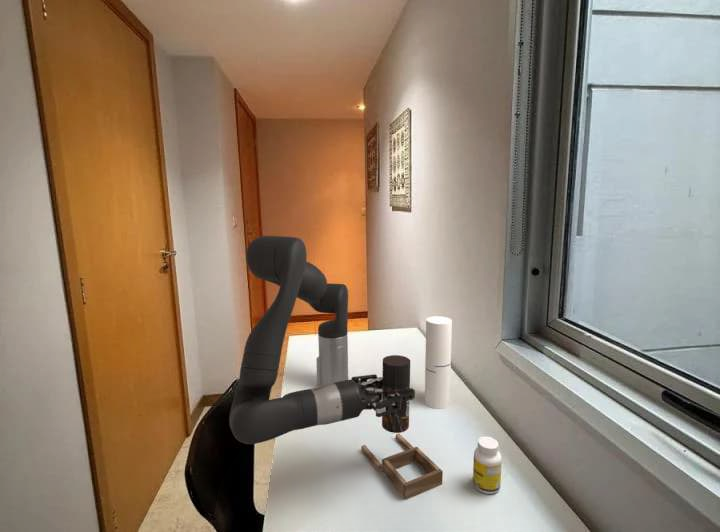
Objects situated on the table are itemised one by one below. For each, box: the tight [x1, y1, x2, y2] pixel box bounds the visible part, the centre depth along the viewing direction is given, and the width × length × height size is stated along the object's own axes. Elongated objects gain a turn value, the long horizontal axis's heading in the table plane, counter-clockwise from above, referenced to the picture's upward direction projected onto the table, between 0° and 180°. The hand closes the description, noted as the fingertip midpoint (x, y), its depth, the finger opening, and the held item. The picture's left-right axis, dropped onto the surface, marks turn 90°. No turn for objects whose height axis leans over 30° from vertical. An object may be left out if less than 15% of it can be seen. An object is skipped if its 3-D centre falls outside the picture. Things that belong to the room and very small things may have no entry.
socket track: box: [360, 433, 444, 500], centre depth 85 cm, size 18×11×3 cm, turn 27°
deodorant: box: [381, 354, 411, 434], centre depth 83 cm, size 6×6×15 cm
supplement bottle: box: [472, 436, 503, 495], centre depth 78 cm, size 5×5×10 cm
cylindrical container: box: [424, 315, 453, 410], centre depth 110 cm, size 7×7×25 cm
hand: (405, 386), depth 84 cm, fingers closed on deodorant, 6 cm apart
